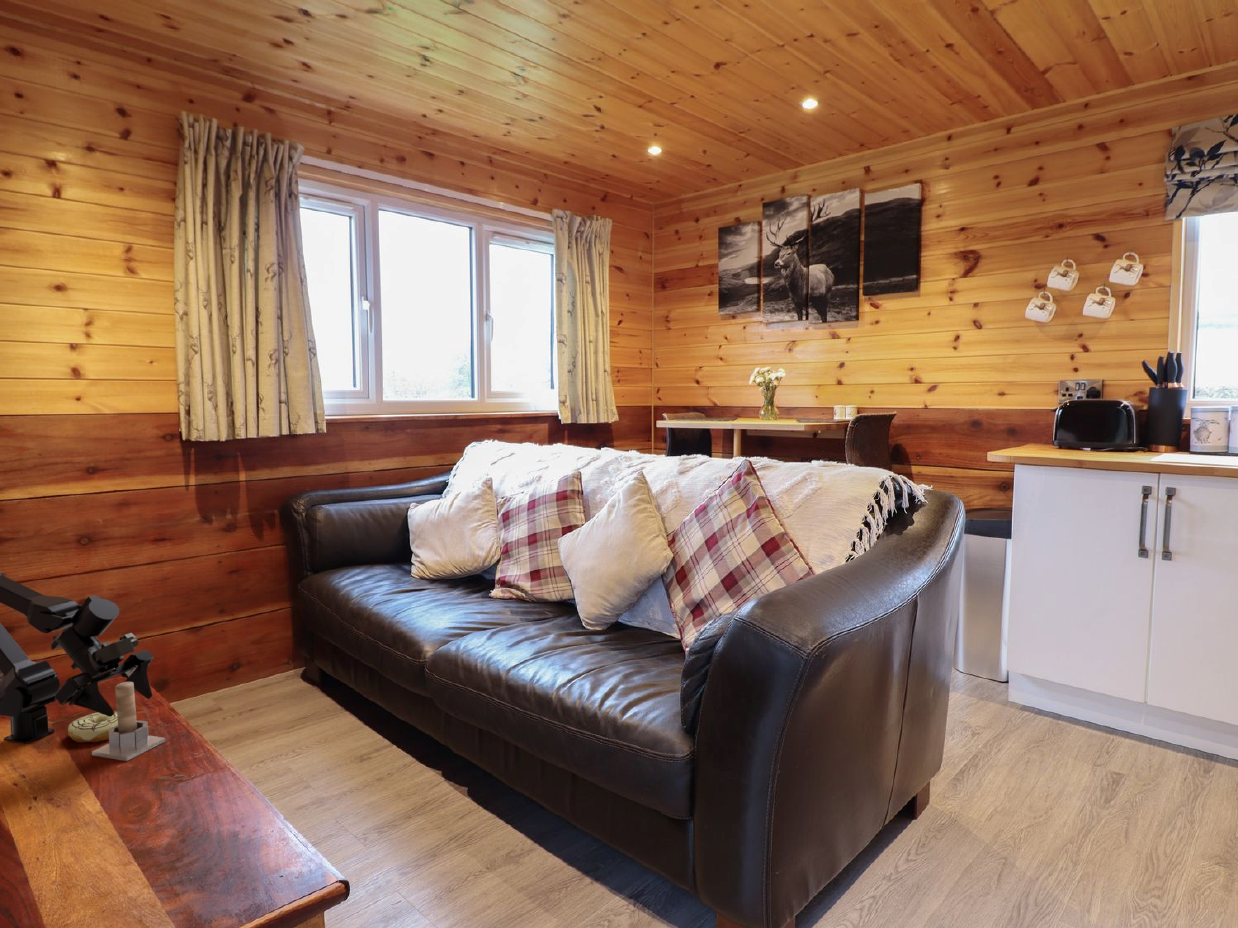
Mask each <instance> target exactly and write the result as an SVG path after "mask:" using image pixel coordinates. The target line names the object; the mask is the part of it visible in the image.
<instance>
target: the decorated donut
mask: <svg viewBox="0 0 1238 928" xmlns="http://www.w3.org/2000/svg"><path fill="white" fill-rule="evenodd" d="M113 711H114V710H113ZM116 725H118V718H117V711H114V715H113V716H111V717H109V716H107V715H104V714H101V713H99V712H94V713H93V712H92V713H89V714H87V715H84V716H82V717H79V718H77V719H75V720H73V721H71V722H70V723H69V725H68V726H67V727H68V728H67V733H68V736H69V738H70V739H71V740H72V741H74V742H77V743H98V742H102V741H109V730H110V728H112V727H114V726H116Z"/></svg>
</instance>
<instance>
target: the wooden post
mask: <svg viewBox="0 0 1238 928" xmlns="http://www.w3.org/2000/svg"><path fill="white" fill-rule="evenodd" d="M114 693H115V703H116V706H115V707H116V712H117V718H118V730H119V733H125V732H131V731H135V730H137V709H136V697H135V696H136V695H135V689H134V683H133V682H125V681H124V682H121V683H117V684H116V685H115V686H114Z"/></svg>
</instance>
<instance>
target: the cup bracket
mask: <svg viewBox="0 0 1238 928" xmlns="http://www.w3.org/2000/svg"><path fill="white" fill-rule="evenodd" d="M136 720H137V719H136ZM108 742H109V743H107V744H105V745H103V746H101V747H98V748H97V749H94V750H92V751H91V755H92V756H94V757H101V758H105V759H113V760H118V761H123V762H124V761H125V762H127V761H129V760H132V759H134V758H136V757H138V756H140V755H142V754H144V753H145V752H147V751H150V750H153V748H156V747H158V746H160V745H161V744H163V743H165V742H166V737H161V736H156V735H149V722H148V721H146V720H145V721H144V720H137V730H135V731H131V732H125V733H119V730H118V725H116V726H114V727H112V728H110V730H109V739H108Z"/></svg>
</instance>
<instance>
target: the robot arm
mask: <svg viewBox="0 0 1238 928" xmlns="http://www.w3.org/2000/svg"><path fill="white" fill-rule="evenodd" d="M0 604H2V605H4V606H6V607H8V608H10V609H13V610H14V611H16V612H19V614H22V615H23V616H25V617H26V619H27V623H28V624H29V625H30V626H32V628H34V629H36V630H37V631H38V632H40V633H42V634H51V633H52V632H56V631H59V630H62V629H63V630H62V631H61V632H60V633H59V634H56V635H54V636H52V642H51V645H50V648H51V650H53V651H54V650H56V649H59V648H62V650H63V651H64V652H65V653H66V654H67V656H68V657H69V659H71V661H72V662H73V663H72V664H71V665H70V667H71V669H73V670H77V669H79V670H80V671H81V673H79V674H76V675H74V676H71V677H68V678H67V679H66V680H65V681H64V683H63V684H62V685H61V682H60V678H59V677H58V676H57V674H58V671H55V670H54V668H52V666H51V665H50V663H49V661H47V660H45V659H43V660H41V661H38V662H35V661H33V660H31V658H29V657H28V656H27V654H26V653H25V651H24V650H23V649H22V648H21V647H20V646H19V644H18V643H17V642H16V640H15V639H14V638H13V637H12V635H11V634H10V633H9V632H8V631H7V629H6V627H4V625H3V624H2V623H1V622H0V671H1V673H2V674H3V676H4V683H3V684H4V685H3V686H4V687H3V691H4V692H5V694H6V695H5V696H4V697H3V698H2V699H1V700H0V716H6V717H9V718H10V735H9V734H8V735H7V736H5V737H3V741H5V742H12V743H19V744H23V745H25V744H28V743H31V742H33V741H37V740H38V739H40V738H43V737H45V736H48V735H50V734H52V733H55V732H56V729H55V728H53V727H49V716H48V708H47V705H49V704H51V703H55V702H56V701H58V703H59V704H60V705H61V706H63V705H67V704H68V705H69V707H70V706H77V707H81V708H84V709H88V710H91V711H94V712H95V713H98V712H99V713H101V714H104V715H107V716H109V717H111V716H113V715H114V709H113V708H112V706H111V705H110V703H109V702H108V701H107V700H106V699H105V697H104V696H103V695H102V694H101V692H100V690H99V684H100V683H103V682H104V681H107V680H110V679H112V678H115V677H118V676H121V677H122V678H124V679H125V678H126V679H125V680H124V682H133V683H134V691H136V692H138V694H140V695H141V696H143V697H144V698H146V699H147V700H150V699H151V698H152V697H153V693H152V689H151V685H150V681H149V679H148V667H150V665H151V664H152V660H153V659H154V658H155V656H154V655H153V654H152V653H151V651H150V650H148V649H142V650H139V651H137V652H136V648H135V647H138V646H139V644H140V643H139V640H138V638H137V636H135V635H134V634H133V632H129V633H127V634H124V635H121V636H120V637H119V640H118V641H116V642H112V643H110V642H108V641H105V642H104V641H103V642H101V640H100V639H99V638H98V636H101V635H103V633H104V632H105V631H106V630H107V629H108V628H109V627H110V625H111V624H112V623H113V622H114V620H116V618H117V617H118V616H119V614H120V608H119V606H118V605H117V603H115V602H113V601H111V600H109V599H105V598H100V597H99V596H98V594H95V595H91V596H88V597H86V598H85V600H84V602H83V604H79V603H77V601H75V600H73V599H70V598H66V597H62V596H57V595H55V596H54V595H53V596H51V595H45V594H42V593H40V592H38V591H36V590H34V589H32V588H30V587H28V586H25V585H23V584H22V583H19V582H17V581H15V580H13V579H11V578H9V577H7V576H6V575H5V574H4V573H3V572H0ZM130 653H131V654H130ZM128 654H130V655H129V656H128V657H127V658H126V659H125V657H124V656H125V655H128ZM124 659H125V660H124ZM123 660H124V661H123ZM122 661H123V663H121V662H122ZM119 663H121V664H119Z"/></svg>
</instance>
